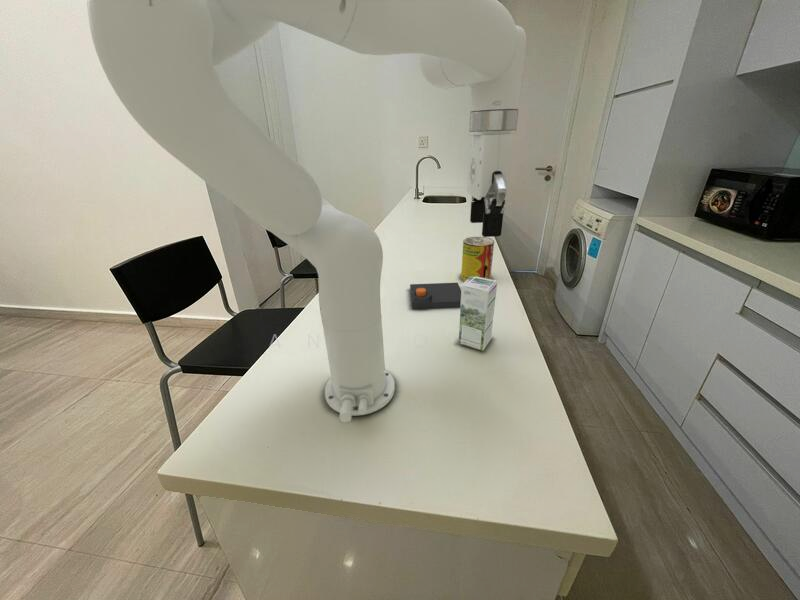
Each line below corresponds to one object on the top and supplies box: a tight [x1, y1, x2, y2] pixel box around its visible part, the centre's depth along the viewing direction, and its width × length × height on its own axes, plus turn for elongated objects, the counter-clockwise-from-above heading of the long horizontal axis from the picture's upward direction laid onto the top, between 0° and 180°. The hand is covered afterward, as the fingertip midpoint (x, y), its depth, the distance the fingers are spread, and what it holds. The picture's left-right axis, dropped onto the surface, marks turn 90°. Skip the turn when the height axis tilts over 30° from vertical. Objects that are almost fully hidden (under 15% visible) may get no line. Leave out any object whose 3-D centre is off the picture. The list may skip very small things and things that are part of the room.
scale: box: [409, 282, 461, 310], centre depth 91 cm, size 13×14×4 cm
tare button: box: [416, 288, 426, 297], centre depth 87 cm, size 3×3×2 cm
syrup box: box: [458, 276, 498, 352], centre depth 69 cm, size 6×6×14 cm
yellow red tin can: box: [460, 236, 495, 282], centre depth 101 cm, size 9×9×12 cm
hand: (484, 228), depth 61 cm, fingers open, 9 cm apart
